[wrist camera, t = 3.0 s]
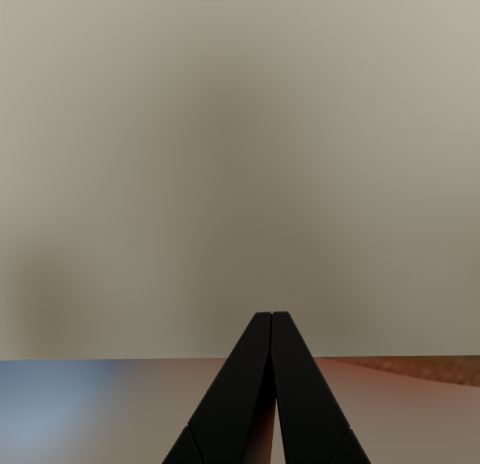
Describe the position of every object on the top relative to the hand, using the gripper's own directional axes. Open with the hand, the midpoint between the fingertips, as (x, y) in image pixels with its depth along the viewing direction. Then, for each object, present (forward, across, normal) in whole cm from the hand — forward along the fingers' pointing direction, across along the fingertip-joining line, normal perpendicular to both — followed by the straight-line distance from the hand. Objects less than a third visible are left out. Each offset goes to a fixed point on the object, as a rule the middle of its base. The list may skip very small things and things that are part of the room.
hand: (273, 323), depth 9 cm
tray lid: (+5, 0, -3) cm, 6 cm away
